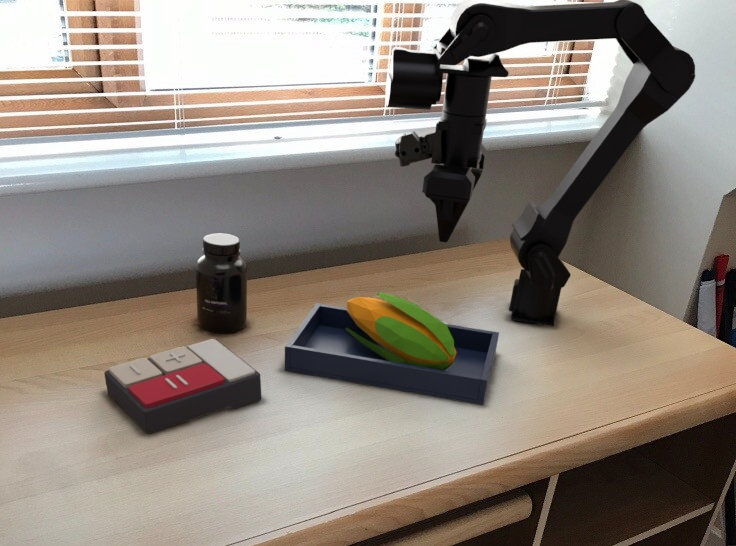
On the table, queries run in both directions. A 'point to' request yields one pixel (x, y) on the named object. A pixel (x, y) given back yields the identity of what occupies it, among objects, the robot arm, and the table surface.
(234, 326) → the supplement bottle
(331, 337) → the tray
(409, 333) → the corn
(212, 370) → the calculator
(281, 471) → the table surface
